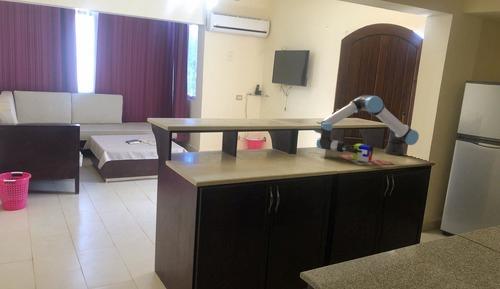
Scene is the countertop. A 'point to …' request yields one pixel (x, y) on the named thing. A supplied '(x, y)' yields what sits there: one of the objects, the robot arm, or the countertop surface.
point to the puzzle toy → (363, 156)
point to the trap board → (358, 162)
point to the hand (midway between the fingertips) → (369, 151)
